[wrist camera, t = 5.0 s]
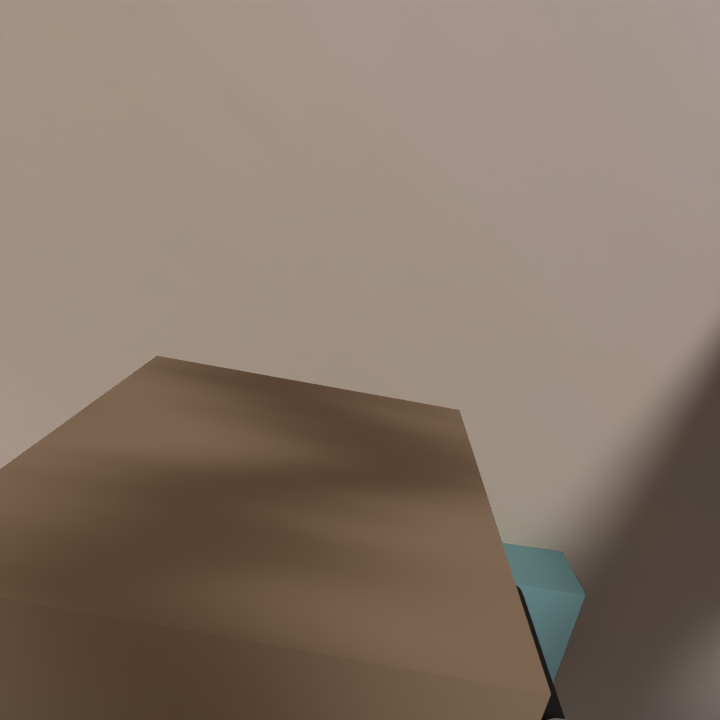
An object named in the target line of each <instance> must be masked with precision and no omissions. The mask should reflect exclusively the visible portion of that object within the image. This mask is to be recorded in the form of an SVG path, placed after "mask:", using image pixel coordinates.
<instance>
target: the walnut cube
mask: <svg viewBox="0 0 720 720" xmlns="http://www.w3.org/2000/svg"><path fill="white" fill-rule="evenodd" d="M550 696H551V692H550V689H549V686H548V683H547V680H546V677H545V674H544V671H543V668H542V664H541V661H540V658H539V655H538V652H537V649H536V646H535V643H534V640H533V637H532V634H531V630H530V627H529V624H528V621H527V618H526V615H525V612H524V609H523V606H522V603H521V600H520V596H519V593H518V590H517V587H516V584H515V581H514V578H513V575H512V572H511V569H510V566H509V562H508V559H507V556H506V553H505V550H504V547H503V544H502V541H501V538H500V535H499V532H498V528H497V525H496V522H495V519H494V516H493V513H492V510H491V507H490V504H489V501H488V498H487V494H486V491H485V488H484V485H483V482H482V479H481V476H480V473H479V470H478V467H477V464H476V460H475V457H474V454H473V451H472V448H471V445H470V442H469V439H468V436H467V433H466V430H465V426H464V423H463V420H462V417H461V414H460V411H459V410H456V409H450V408H445V407H439V406H434V405H428V404H422V403H417V402H411V401H406V400H400V399H395V398H389V397H383V396H378V395H372V394H367V393H361V392H355V391H350V390H344V389H339V388H333V387H328V386H322V385H316V384H311V383H305V382H300V381H294V380H289V379H283V378H277V377H272V376H266V375H261V374H255V373H249V372H244V371H238V370H233V369H227V368H222V367H216V366H210V365H205V364H199V363H194V362H188V361H182V360H177V359H171V358H166V357H160V356H156V357H155V358H153V359H152V360H151V361H149V362H148V363H146V364H145V365H144V366H142V367H141V368H140V369H138V370H137V371H135V372H134V373H133V374H131V375H130V376H128V377H127V378H126V379H124V380H123V381H122V382H120V383H119V384H117V385H116V386H115V387H113V388H112V389H111V390H109V391H108V392H106V393H105V394H104V395H102V396H101V397H99V398H98V399H97V400H95V401H94V402H93V403H91V404H90V405H88V406H87V407H86V408H84V409H83V410H81V411H80V412H79V413H77V414H76V415H75V416H73V417H72V418H70V419H69V420H68V421H66V422H65V423H64V424H62V425H61V426H59V427H58V428H57V429H55V430H54V431H52V432H51V433H50V434H48V435H47V436H46V437H44V438H43V439H41V440H40V441H39V442H37V443H36V444H35V445H33V446H32V447H30V448H29V449H28V450H26V451H25V452H23V453H22V454H21V455H19V456H18V457H17V458H15V459H14V460H12V461H11V462H10V463H8V464H7V465H6V466H4V467H3V468H1V469H0V720H541V719H542V716H543V713H544V711H545V708H546V706H547V703H548V701H549V698H550Z"/></svg>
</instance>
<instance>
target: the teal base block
mask: <svg viewBox="0 0 720 720" xmlns="http://www.w3.org/2000/svg"><path fill="white" fill-rule="evenodd" d="M502 544H503V547H504V550H505V553H506V556H507V559H508V562H509V566H510V569H511V572H512V575H513V578H514V581H515V584H516V585H517V586H518V587H519V588H520V589H521V591H522V593H523V595H524V598H525V601H526V604H527V607H528V610H529V613H530V616H531V619H532V622H533V625H534V628H535V631H536V634H537V637H538V640H539V643H540V646H541V649H542V652H543V655H544V658H545V661H546V664H547V667H548V670H549V673H550V676H551V679H552V682H553V683H554V680H555V677H556V674H557V672H558V669H559V666H560V664H561V661H562V658H563V655H564V653H565V650H566V647H567V645H568V642H569V639H570V636H571V634H572V631H573V628H574V626H575V623H576V620H577V617H578V615H579V612H580V609H581V607H582V604H583V601H584V598H585V596H586V594H585V592H584V591H583V589H582V587H581V585H580V583H579V581H578V580H577V578H576V576H575V574H574V572H573V570H572V568H571V567H570V565H569V563H568V561H567V559H566V557H565V556H564V554H563V552H559V551H552V550H546V549H539V548H532V547H526V546H519V545H513V544H506V543H502Z"/></svg>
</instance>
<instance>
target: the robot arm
mask: <svg viewBox="0 0 720 720" xmlns="http://www.w3.org/2000/svg"><path fill="white" fill-rule="evenodd" d="M516 587H517V590H518V593H519V596H520V600H521V603H522V606H523V609H524V612H525V615H526V618H527V621H528V624H529V627H530V630H531V634H532V637H533V640H534V643H535V646H536V649H537V652H538V655H539V658H540V661H541V664H542V668H543V671H544V674H545V677H546V680H547V683H548V686H549V689H550V692H551V696H550V698H549V701H548V703H547V706H546V708H545V711H544V713H543V716H542V719H541V720H570V719H565V717H564V714H563V712H562V709H561V706H560V703H559V700H558V697H557V694H556V691H555V688H554V685H553V682H552V679H551V676H550V673H549V670H548V667H547V664H546V661H545V658H544V655H543V652H542V649H541V646H540V643H539V640H538V637H537V634H536V631H535V628H534V625H533V622H532V619H531V616H530V613H529V610H528V607H527V604H526V601H525V598H524V595H523V593H522V591H521V589H520V588H519V587H518V586H517V585H516Z"/></svg>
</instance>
